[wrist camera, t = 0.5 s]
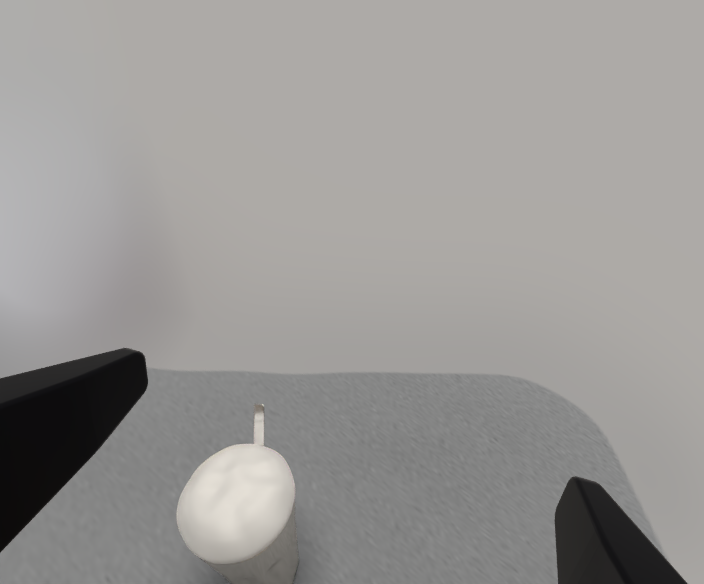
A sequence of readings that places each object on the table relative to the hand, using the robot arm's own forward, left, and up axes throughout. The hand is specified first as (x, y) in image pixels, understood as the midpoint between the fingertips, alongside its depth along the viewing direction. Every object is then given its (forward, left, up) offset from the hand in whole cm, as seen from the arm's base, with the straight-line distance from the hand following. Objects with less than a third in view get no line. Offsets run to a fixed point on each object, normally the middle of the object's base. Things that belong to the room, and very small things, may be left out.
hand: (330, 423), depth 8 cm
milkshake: (+1, +5, -17) cm, 18 cm away
